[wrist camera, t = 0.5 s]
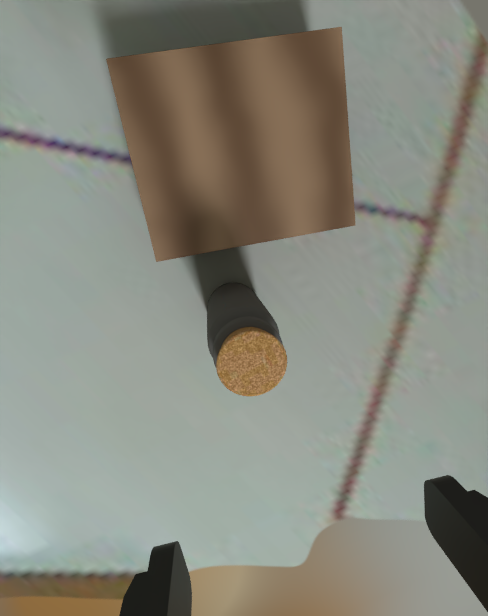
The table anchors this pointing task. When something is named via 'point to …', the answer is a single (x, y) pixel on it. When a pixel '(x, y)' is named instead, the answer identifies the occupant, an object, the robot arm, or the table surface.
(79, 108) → the table surface
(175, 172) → the wooden box
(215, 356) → the bottle
